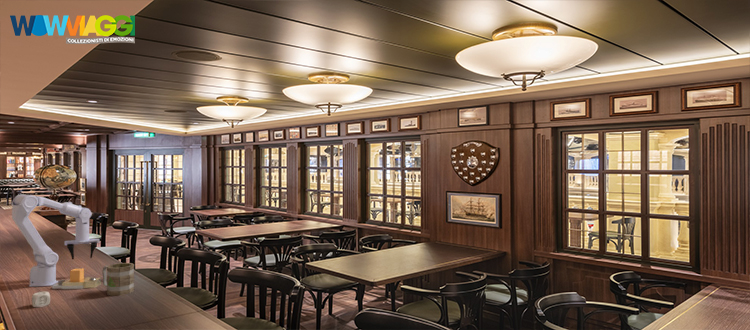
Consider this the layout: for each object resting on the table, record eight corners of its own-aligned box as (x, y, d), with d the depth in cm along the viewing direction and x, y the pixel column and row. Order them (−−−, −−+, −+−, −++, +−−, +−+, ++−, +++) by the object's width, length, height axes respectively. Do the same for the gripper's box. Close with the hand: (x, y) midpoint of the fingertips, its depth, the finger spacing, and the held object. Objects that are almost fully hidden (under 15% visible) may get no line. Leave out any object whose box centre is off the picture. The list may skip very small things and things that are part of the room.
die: (46, 302, 181) (46, 290, 181) (50, 305, 178) (50, 293, 178) (31, 305, 177) (31, 293, 177) (35, 308, 174) (35, 295, 174)
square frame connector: (50, 289, 199) (50, 281, 199) (60, 284, 207) (60, 277, 207) (94, 288, 202) (94, 280, 202) (102, 283, 210) (102, 275, 210)
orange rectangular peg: (70, 288, 202) (70, 270, 202) (74, 285, 206) (74, 268, 206) (79, 287, 203) (79, 270, 202) (83, 285, 206) (83, 268, 206)
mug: (139, 290, 200) (140, 263, 199) (118, 297, 189) (119, 269, 189) (113, 286, 205) (114, 261, 205) (92, 293, 194) (92, 266, 194)
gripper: (63, 233, 214) (63, 261, 214) (98, 231, 221) (98, 258, 221) (65, 231, 220) (65, 258, 220) (99, 229, 227) (99, 255, 227)
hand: (82, 258), depth 221 cm, fingers open, 7 cm apart
